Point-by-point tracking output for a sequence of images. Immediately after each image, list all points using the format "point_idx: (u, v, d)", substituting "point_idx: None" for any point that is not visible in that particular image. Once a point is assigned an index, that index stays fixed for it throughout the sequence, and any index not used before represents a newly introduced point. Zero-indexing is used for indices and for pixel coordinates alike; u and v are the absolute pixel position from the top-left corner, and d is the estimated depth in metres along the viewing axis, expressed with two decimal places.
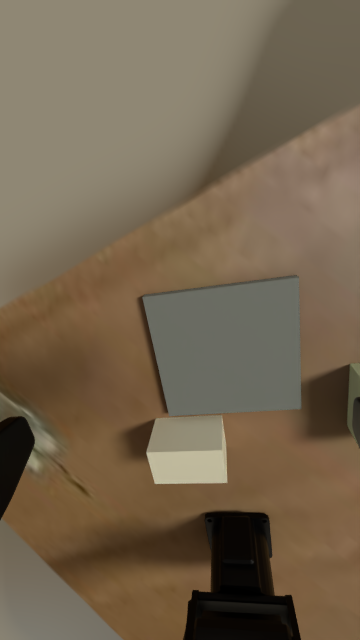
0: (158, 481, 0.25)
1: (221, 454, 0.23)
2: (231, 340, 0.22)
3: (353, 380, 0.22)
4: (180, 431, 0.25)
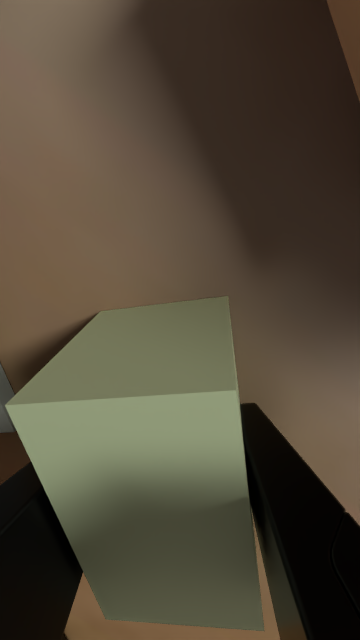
0: None
1: None
2: None
3: None
4: None
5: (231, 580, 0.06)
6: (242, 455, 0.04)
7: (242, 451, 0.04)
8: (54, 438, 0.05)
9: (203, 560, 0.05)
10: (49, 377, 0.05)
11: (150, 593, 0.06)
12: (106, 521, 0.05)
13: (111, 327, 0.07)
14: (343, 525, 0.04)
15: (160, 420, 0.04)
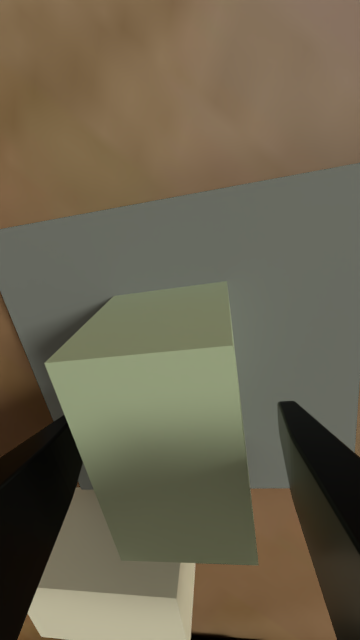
0: (47, 634, 0.12)
1: (175, 605, 0.10)
2: None
3: None
4: (99, 527, 0.12)
5: (230, 517, 0.07)
6: (238, 401, 0.05)
7: (238, 398, 0.05)
8: (84, 391, 0.06)
9: (207, 499, 0.06)
10: (77, 343, 0.06)
11: (160, 533, 0.07)
12: (125, 465, 0.06)
13: (125, 307, 0.08)
14: None
15: (172, 372, 0.05)
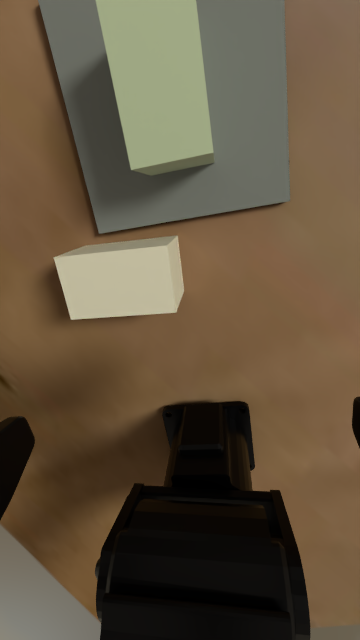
0: (75, 315, 0.16)
1: (166, 254, 0.14)
2: None
3: None
4: (113, 246, 0.17)
5: (194, 105, 0.11)
6: None
7: None
8: (112, 1, 0.10)
9: (181, 90, 0.11)
10: None
11: (155, 132, 0.12)
12: (134, 67, 0.11)
13: None
14: None
15: None
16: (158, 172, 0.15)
